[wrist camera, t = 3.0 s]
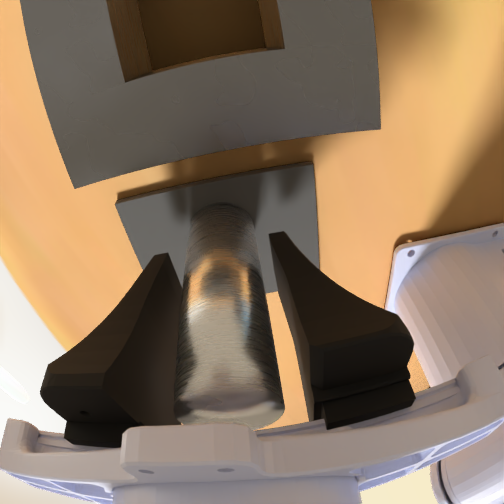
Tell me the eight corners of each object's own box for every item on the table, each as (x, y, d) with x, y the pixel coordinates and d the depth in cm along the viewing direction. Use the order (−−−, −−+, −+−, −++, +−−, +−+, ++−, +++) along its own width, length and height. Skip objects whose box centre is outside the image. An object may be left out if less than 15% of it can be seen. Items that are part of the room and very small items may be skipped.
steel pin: (248, 196, 14) (279, 380, 7) (258, 250, 16) (288, 425, 9) (182, 209, 14) (156, 395, 7) (198, 260, 16) (193, 436, 9)
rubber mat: (311, 161, 14) (313, 164, 14) (317, 278, 18) (319, 283, 18) (117, 200, 14) (114, 204, 14) (163, 305, 18) (162, 310, 18)
